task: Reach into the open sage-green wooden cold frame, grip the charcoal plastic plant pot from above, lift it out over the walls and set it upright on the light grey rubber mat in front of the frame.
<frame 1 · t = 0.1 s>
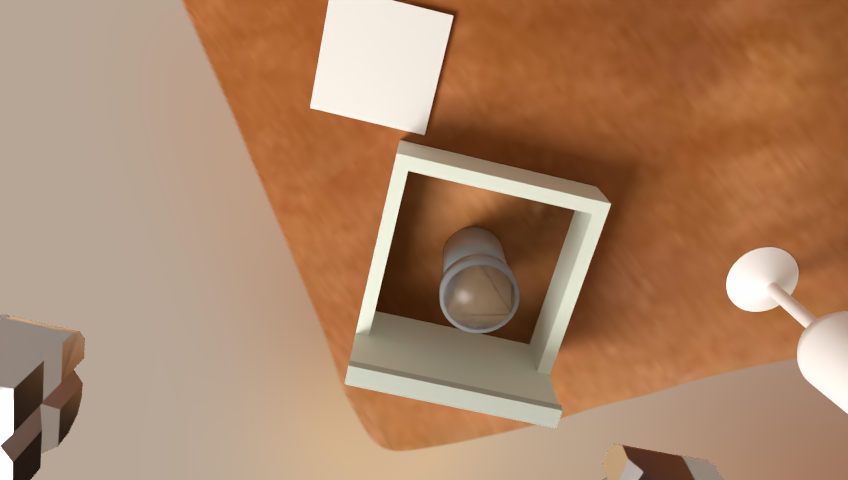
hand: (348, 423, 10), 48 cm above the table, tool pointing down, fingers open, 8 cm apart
mat: (380, 62, 55), on the table
champagne flute: (761, 279, 61), on the table
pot: (472, 255, 61), resting in cold frame
cold frame: (472, 255, 61), on the table
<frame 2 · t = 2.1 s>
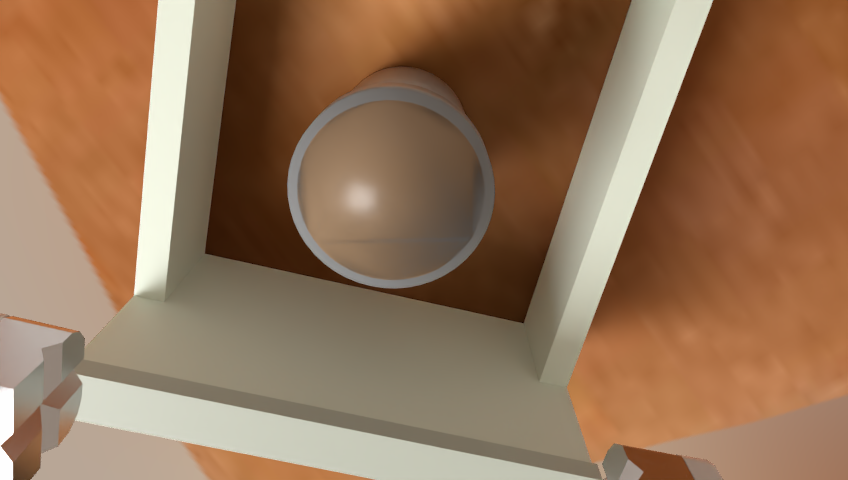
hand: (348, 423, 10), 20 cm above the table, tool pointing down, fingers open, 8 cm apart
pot: (403, 132, 29), resting in cold frame
cold frame: (403, 132, 29), on the table
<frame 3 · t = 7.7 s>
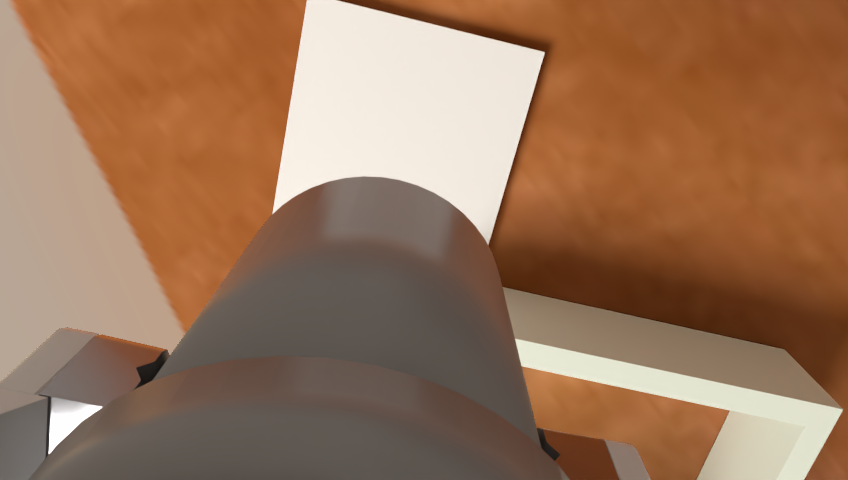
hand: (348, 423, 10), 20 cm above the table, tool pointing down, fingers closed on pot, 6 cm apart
mat: (402, 137, 29), on the table
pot: (371, 302, 14), point 16 cm above the table, touching gripper
cold frame: (558, 456, 35), on the table
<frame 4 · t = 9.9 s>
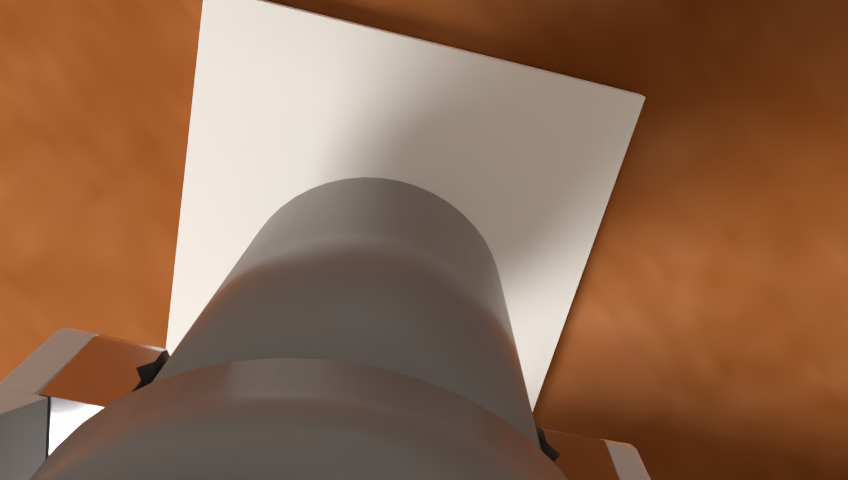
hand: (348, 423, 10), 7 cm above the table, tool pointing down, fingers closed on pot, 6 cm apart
mat: (384, 240, 17), on the table
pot: (371, 303, 14), point 3 cm above the table, touching gripper
when the fingers open (6 cm above the table, at t = 11.1 s): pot drops 1 cm, resting on mat.
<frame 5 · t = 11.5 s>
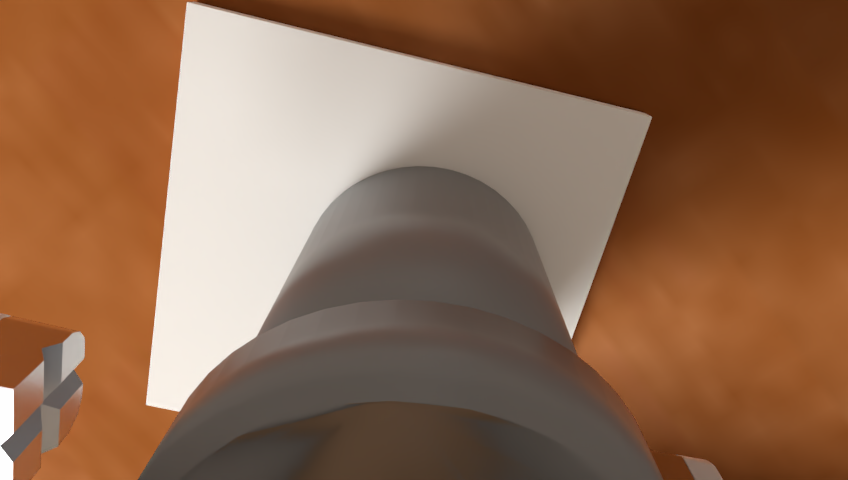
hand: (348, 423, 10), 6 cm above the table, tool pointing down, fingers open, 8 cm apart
mat: (378, 265, 16), on the table
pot: (420, 281, 15), point 1 cm above the table, touching gripper, mat
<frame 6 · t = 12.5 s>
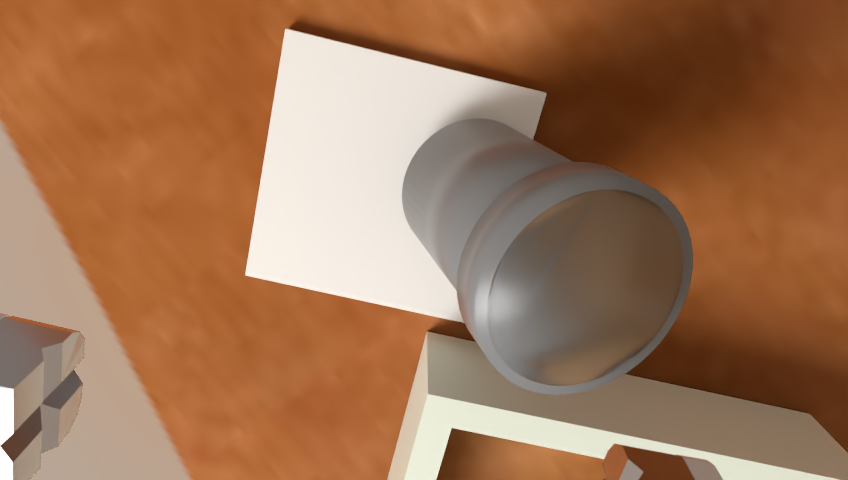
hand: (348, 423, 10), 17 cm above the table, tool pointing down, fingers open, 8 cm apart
mat: (389, 185, 26), on the table
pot: (471, 190, 25), point 1 cm above the table, tilted 17°, touching mat
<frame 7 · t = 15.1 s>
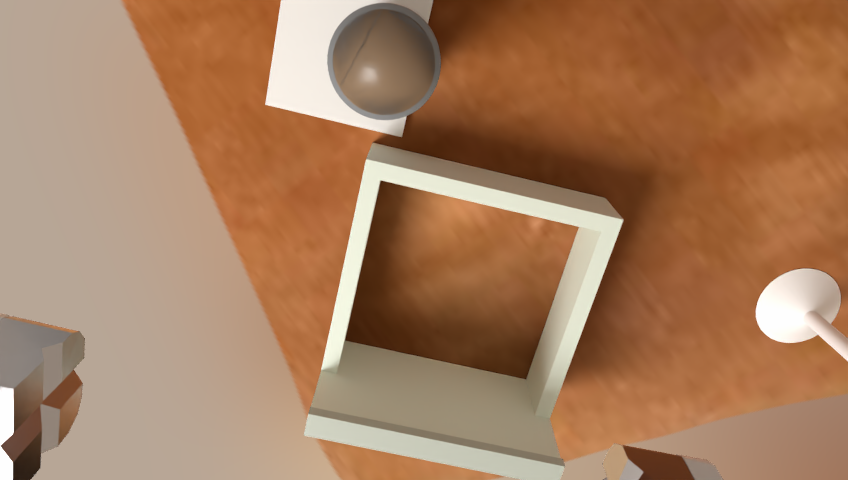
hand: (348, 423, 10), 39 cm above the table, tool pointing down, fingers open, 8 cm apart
mat: (348, 50, 46), on the table
champagne flute: (796, 305, 53), on the table
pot: (393, 49, 45), resting on mat
cold frame: (460, 277, 52), on the table
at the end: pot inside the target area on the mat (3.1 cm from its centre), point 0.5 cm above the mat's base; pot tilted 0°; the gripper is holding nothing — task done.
